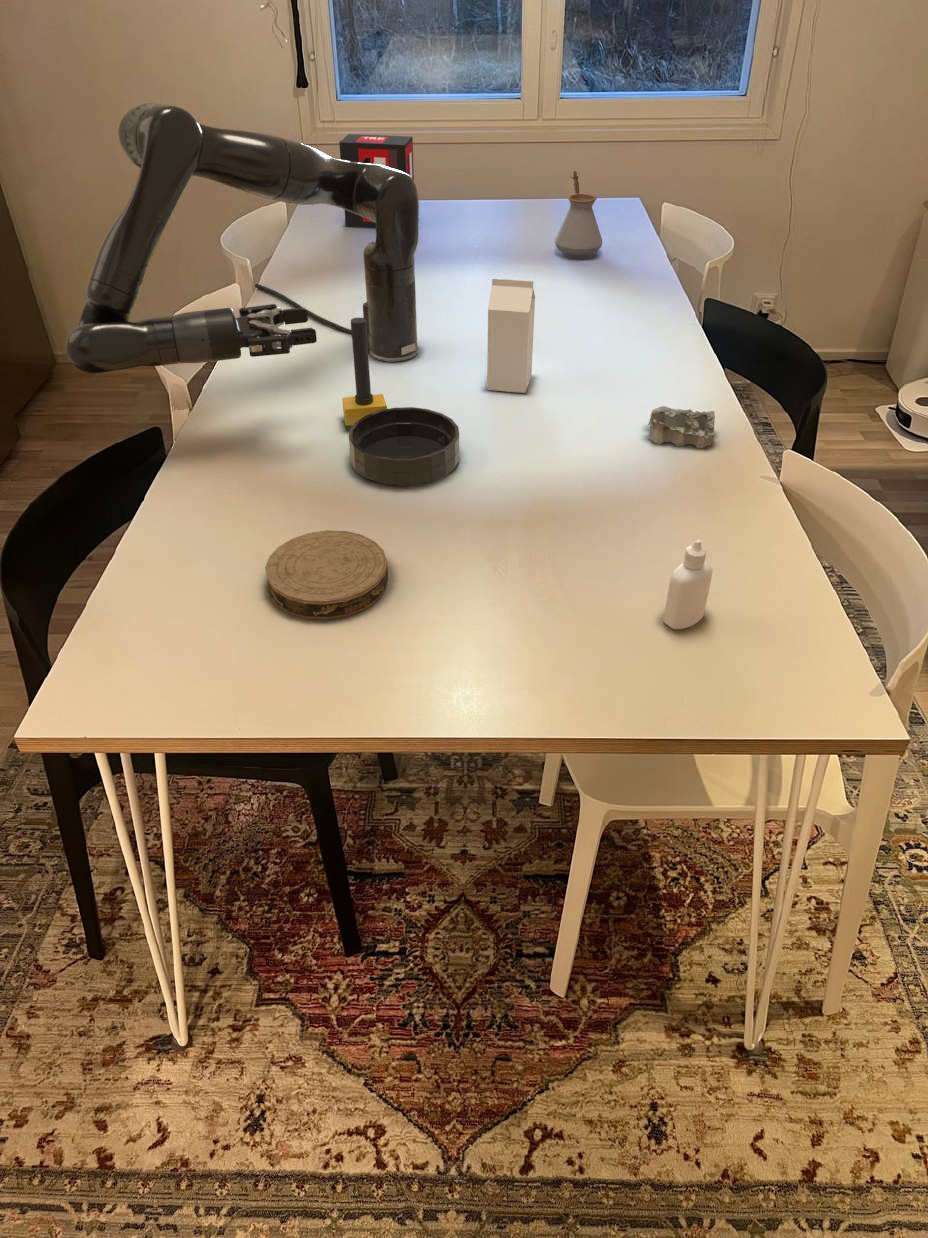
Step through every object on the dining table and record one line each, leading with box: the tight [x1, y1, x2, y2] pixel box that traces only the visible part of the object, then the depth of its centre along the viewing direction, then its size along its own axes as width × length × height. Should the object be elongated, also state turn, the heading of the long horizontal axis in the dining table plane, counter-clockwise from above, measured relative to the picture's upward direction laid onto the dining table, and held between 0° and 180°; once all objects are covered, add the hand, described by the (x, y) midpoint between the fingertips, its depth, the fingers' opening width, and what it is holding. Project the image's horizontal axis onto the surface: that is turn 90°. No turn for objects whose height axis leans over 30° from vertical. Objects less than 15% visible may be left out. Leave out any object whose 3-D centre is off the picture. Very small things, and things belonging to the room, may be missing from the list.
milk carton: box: [486, 277, 536, 394], centre depth 166 cm, size 7×7×19 cm
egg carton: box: [647, 406, 716, 449], centre depth 155 cm, size 11×8×4 cm
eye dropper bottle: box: [662, 538, 713, 631], centre depth 116 cm, size 4×6×12 cm
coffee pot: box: [554, 170, 603, 260], centre depth 227 cm, size 21×12×15 cm, turn 1°
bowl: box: [348, 406, 460, 487], centre depth 149 cm, size 17×17×5 cm
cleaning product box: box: [338, 133, 415, 229], centre depth 240 cm, size 16×9×20 cm, turn 80°
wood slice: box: [264, 530, 389, 621], centre depth 125 cm, size 16×16×3 cm
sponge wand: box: [341, 316, 388, 432], centre depth 155 cm, size 7×4×18 cm, turn 101°
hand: (311, 324), depth 147 cm, fingers open, 8 cm apart
